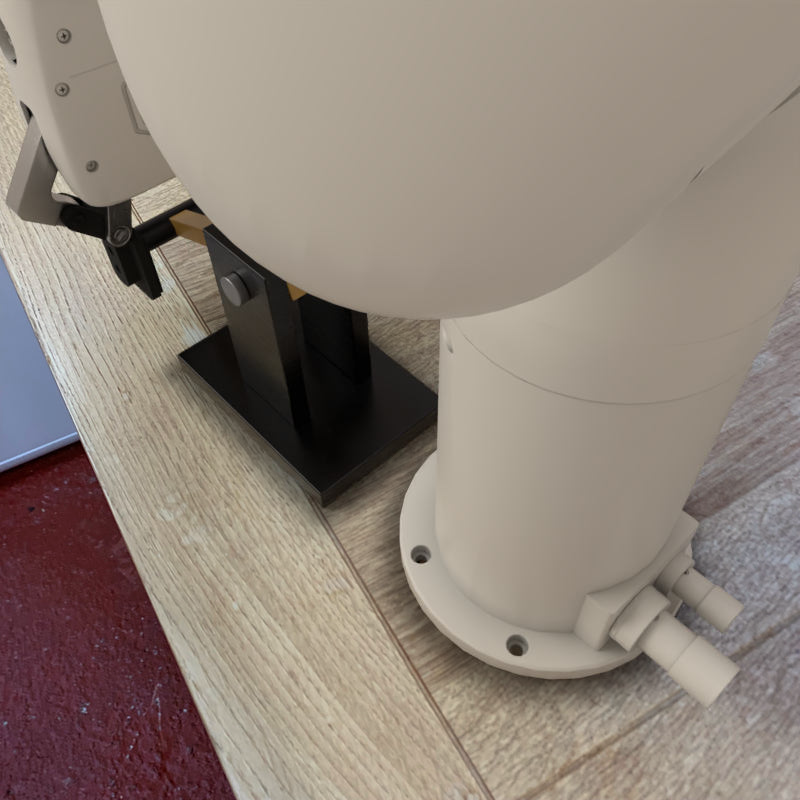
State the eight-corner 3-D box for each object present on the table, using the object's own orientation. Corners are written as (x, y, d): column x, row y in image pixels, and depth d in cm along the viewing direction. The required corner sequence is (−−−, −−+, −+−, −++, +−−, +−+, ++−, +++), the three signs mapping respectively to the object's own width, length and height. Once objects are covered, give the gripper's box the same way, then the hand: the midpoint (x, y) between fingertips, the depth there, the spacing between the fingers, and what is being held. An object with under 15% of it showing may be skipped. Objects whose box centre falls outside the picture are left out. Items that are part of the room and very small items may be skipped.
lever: (140, 260, 42) (120, 219, 41) (218, 218, 44) (201, 178, 43) (266, 318, 33) (245, 267, 32) (357, 262, 35) (341, 212, 34)
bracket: (181, 369, 42) (122, 203, 34) (298, 297, 46) (271, 130, 37) (323, 509, 37) (294, 351, 28) (445, 415, 40) (451, 249, 32)
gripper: (-107, -1, 25) (84, 377, 39) (316, -139, 32) (348, 223, 46) (-186, -68, 28) (16, 301, 43) (211, -179, 36) (270, 169, 50)
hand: (188, 258), depth 44 cm, fingers closed on lever, 5 cm apart
